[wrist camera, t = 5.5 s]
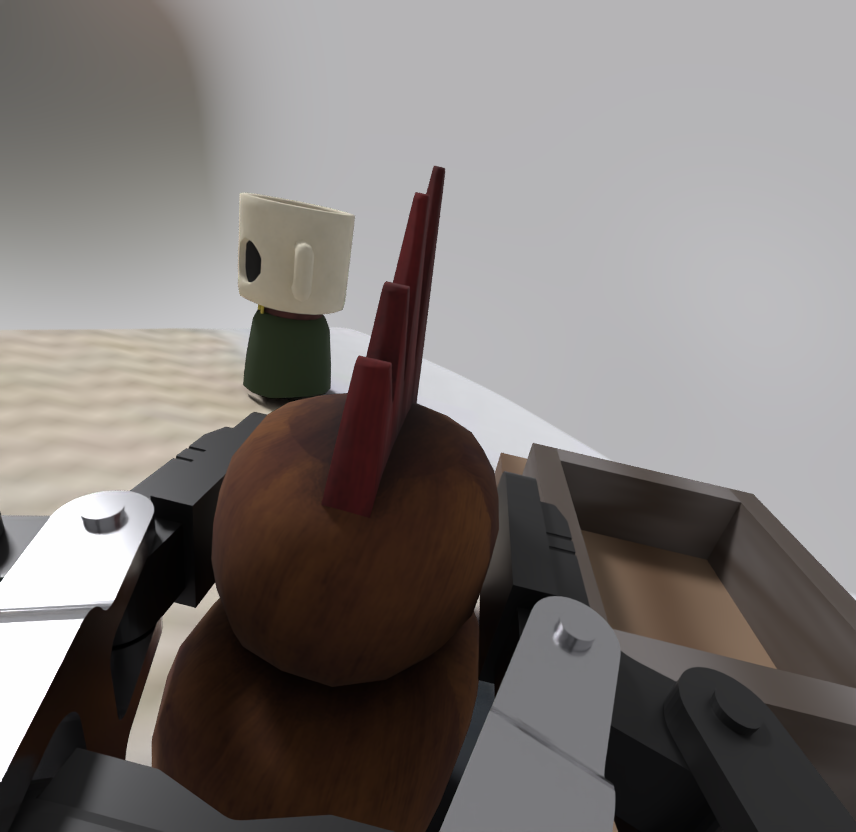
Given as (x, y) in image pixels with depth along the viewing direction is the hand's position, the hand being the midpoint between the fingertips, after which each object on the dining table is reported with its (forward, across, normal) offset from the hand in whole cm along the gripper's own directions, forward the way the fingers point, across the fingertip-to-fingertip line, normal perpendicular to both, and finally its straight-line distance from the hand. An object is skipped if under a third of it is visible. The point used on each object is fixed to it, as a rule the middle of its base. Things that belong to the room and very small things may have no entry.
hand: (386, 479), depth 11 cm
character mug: (+21, +11, +9) cm, 26 cm away
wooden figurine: (-3, 0, +9) cm, 9 cm away
